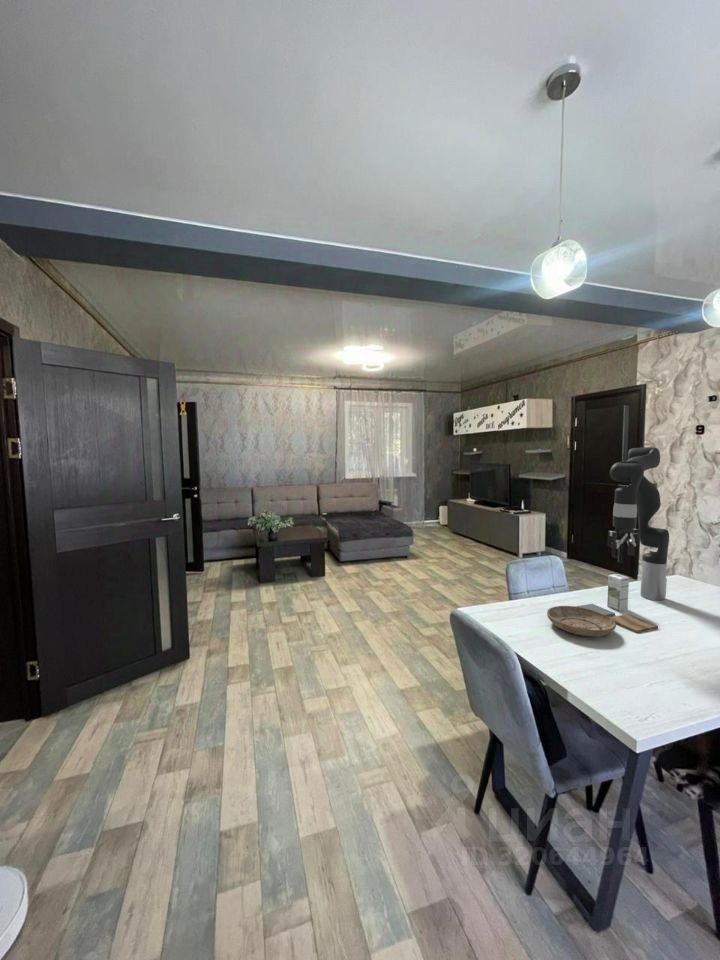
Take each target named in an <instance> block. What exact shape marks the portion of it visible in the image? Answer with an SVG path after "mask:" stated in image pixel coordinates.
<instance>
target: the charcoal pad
mask: <svg viewBox="0 0 720 960" xmlns="http://www.w3.org/2000/svg"><path fill="white" fill-rule="evenodd" d="M575 607H581V608H586V609H590V610H594V611H597V612H599V613H602V614H604V615H607V616H608V617H615V616H616V613H615V612H613V611H611V610H608V609H606V608H603V607H602V606H598V605H597V604H594V603H588V604H581V605H576V606H575Z"/></svg>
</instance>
